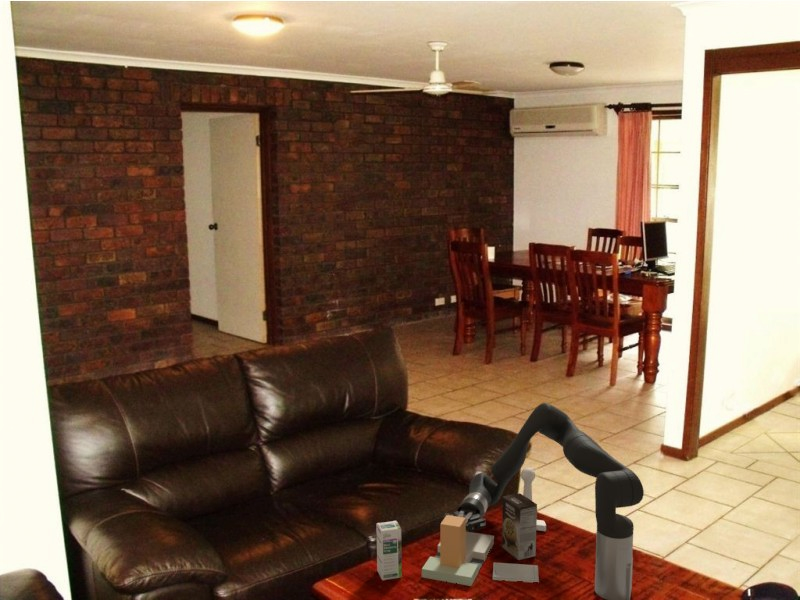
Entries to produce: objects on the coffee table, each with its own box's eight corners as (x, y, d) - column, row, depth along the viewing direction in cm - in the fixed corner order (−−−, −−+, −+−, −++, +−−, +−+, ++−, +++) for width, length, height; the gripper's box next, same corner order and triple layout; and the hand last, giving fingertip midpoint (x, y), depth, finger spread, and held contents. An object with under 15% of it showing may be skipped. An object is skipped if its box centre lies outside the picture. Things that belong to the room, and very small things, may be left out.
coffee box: (500, 547, 230) (501, 495, 228) (519, 543, 233) (520, 492, 231) (517, 561, 222) (518, 507, 220) (536, 556, 225) (537, 503, 222)
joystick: (543, 525, 244) (544, 465, 241) (548, 536, 237) (549, 474, 234) (508, 526, 244) (509, 465, 241) (511, 537, 237) (512, 474, 234)
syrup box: (381, 581, 212) (381, 531, 209) (376, 570, 217) (376, 521, 215) (402, 578, 213) (401, 528, 211) (396, 567, 219) (396, 519, 216)
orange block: (465, 558, 219) (465, 517, 217) (459, 567, 213) (459, 526, 212) (446, 554, 221) (446, 515, 219) (440, 564, 215) (440, 523, 213)
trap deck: (493, 543, 233) (493, 535, 232) (471, 586, 209) (471, 577, 208) (449, 536, 238) (449, 528, 237) (421, 577, 213) (421, 568, 213)
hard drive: (492, 576, 212) (538, 579, 210) (493, 561, 220) (537, 564, 218) (492, 581, 212) (538, 584, 210) (493, 567, 220) (537, 569, 218)
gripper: (451, 494, 237) (434, 517, 220) (494, 500, 232) (479, 524, 216) (451, 517, 238) (434, 542, 222) (493, 523, 233) (479, 549, 217)
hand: (456, 533), depth 219 cm, fingers closed
